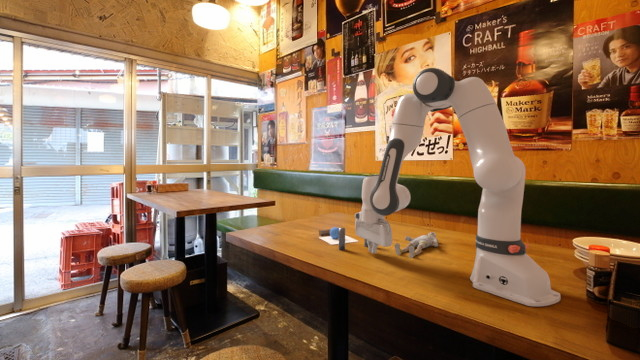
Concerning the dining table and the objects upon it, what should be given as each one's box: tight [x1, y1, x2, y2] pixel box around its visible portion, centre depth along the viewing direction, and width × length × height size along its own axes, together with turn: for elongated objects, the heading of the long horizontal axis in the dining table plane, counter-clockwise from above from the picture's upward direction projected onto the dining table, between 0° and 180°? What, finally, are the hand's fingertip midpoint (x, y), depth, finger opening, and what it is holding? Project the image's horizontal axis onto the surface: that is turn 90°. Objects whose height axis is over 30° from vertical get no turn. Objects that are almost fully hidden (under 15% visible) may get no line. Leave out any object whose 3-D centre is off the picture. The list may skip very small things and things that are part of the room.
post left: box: [338, 227, 346, 251], centre depth 127 cm, size 3×3×9 cm
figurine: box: [394, 231, 439, 259], centre depth 130 cm, size 13×6×30 cm
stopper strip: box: [318, 228, 332, 237], centre depth 154 cm, size 2×9×2 cm, turn 115°
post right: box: [363, 239, 369, 248], centre depth 133 cm, size 3×3×9 cm
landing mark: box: [318, 234, 360, 246], centre depth 144 cm, size 14×14×1 cm
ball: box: [329, 226, 340, 239], centre depth 145 cm, size 6×6×6 cm
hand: (372, 252), depth 118 cm, fingers closed
